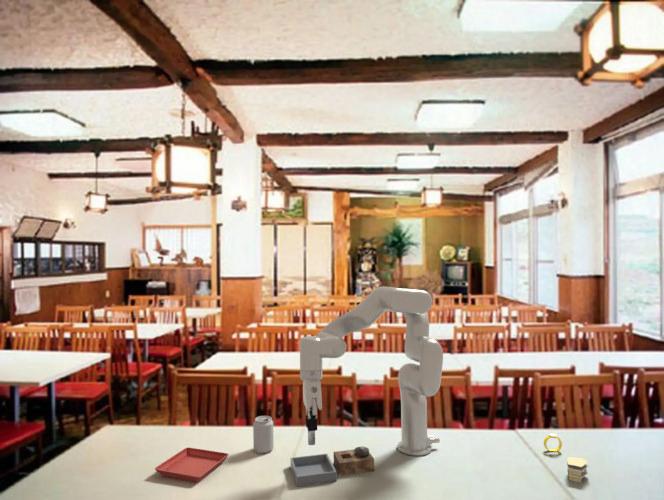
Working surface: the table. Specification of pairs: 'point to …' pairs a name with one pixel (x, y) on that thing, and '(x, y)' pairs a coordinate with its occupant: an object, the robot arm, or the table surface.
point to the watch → (553, 437)
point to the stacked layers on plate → (576, 468)
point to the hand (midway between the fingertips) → (311, 428)
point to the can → (263, 434)
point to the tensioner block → (353, 461)
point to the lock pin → (311, 437)
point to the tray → (313, 469)
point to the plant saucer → (191, 464)
